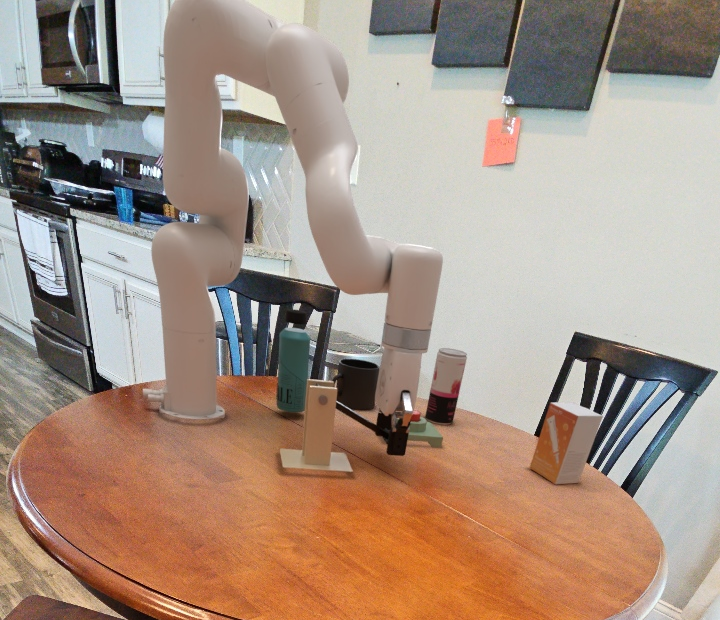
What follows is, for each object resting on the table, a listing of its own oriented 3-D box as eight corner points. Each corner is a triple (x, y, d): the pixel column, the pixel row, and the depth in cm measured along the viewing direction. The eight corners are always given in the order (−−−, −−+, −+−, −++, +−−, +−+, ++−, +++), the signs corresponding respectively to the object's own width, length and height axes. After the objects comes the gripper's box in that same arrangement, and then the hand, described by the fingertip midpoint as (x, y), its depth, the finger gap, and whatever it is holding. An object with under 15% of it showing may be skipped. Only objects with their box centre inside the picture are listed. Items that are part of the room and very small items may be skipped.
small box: (528, 468, 118) (549, 401, 110) (552, 467, 120) (574, 401, 112) (554, 485, 112) (578, 415, 104) (579, 483, 115) (604, 415, 107)
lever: (386, 440, 105) (394, 428, 104) (392, 450, 101) (400, 438, 100) (308, 393, 98) (315, 380, 97) (311, 401, 94) (319, 388, 93)
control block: (385, 443, 119) (388, 423, 116) (375, 427, 126) (378, 408, 124) (441, 447, 121) (445, 428, 119) (428, 432, 129) (432, 413, 127)
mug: (317, 400, 138) (321, 359, 132) (358, 397, 144) (363, 358, 139) (341, 412, 132) (345, 369, 127) (382, 409, 139) (388, 368, 133)
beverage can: (455, 426, 135) (471, 356, 126) (428, 424, 134) (442, 353, 125) (448, 418, 140) (462, 349, 131) (422, 415, 139) (435, 346, 130)
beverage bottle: (308, 413, 128) (315, 310, 116) (302, 422, 123) (310, 315, 111) (278, 408, 128) (283, 305, 116) (272, 417, 123) (276, 309, 111)
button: (404, 422, 120) (405, 413, 119) (400, 416, 123) (401, 408, 122) (421, 423, 121) (422, 415, 120) (416, 418, 123) (418, 409, 122)
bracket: (344, 459, 108) (353, 380, 100) (352, 478, 101) (362, 394, 93) (279, 454, 106) (283, 373, 97) (282, 474, 99) (287, 387, 90)
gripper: (372, 325, 99) (360, 428, 109) (394, 347, 86) (378, 461, 96) (414, 330, 101) (398, 430, 111) (443, 352, 87) (422, 464, 97)
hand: (389, 445), depth 103 cm, fingers open, 9 cm apart
